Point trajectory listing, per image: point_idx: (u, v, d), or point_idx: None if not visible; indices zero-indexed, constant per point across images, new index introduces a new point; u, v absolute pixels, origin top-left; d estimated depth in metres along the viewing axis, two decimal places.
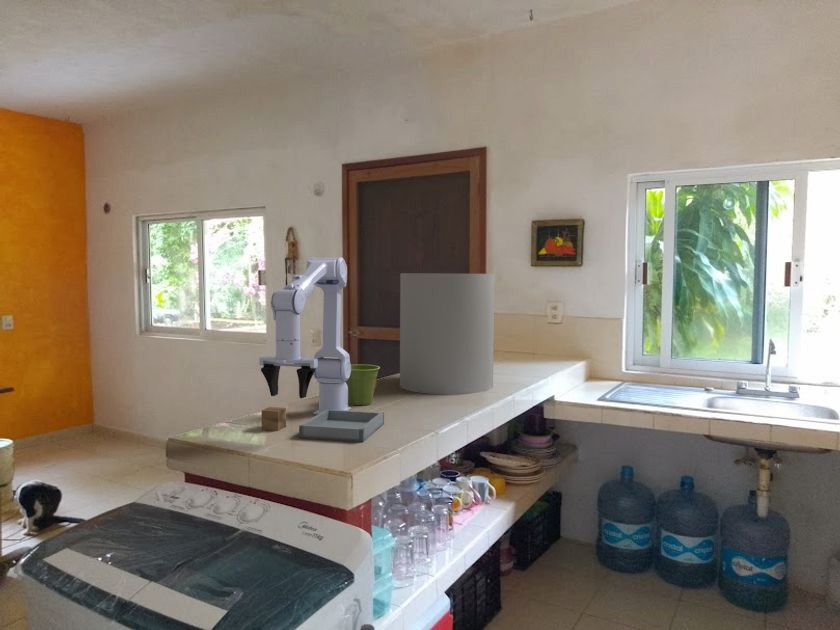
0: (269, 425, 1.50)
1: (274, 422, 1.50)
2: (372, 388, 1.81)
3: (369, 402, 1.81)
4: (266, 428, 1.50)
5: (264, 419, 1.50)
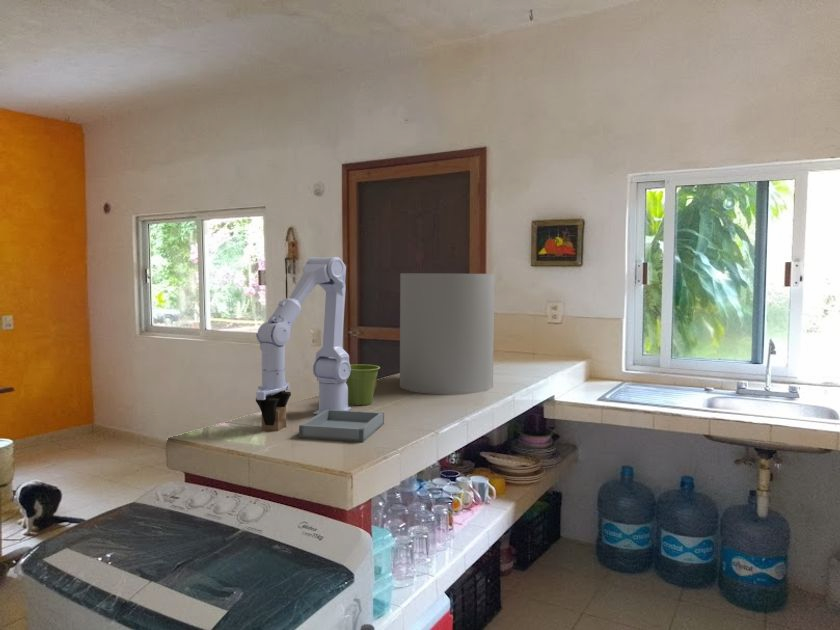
0: (269, 425, 1.50)
1: (274, 422, 1.50)
2: (372, 388, 1.81)
3: (369, 402, 1.81)
4: (266, 428, 1.50)
5: None
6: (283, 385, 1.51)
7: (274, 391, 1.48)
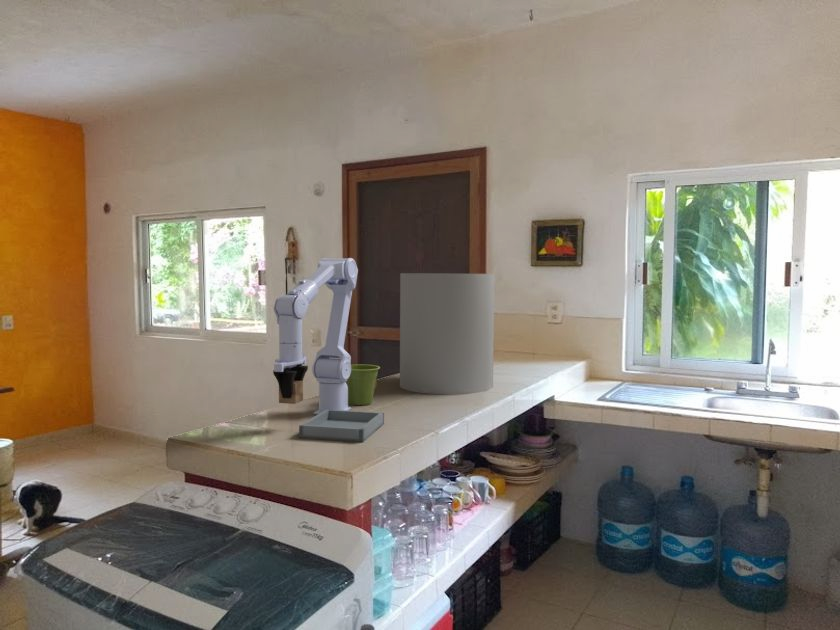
0: (286, 398, 1.49)
1: None
2: (372, 388, 1.81)
3: (369, 402, 1.81)
4: (283, 401, 1.49)
5: None
6: (300, 358, 1.50)
7: (292, 363, 1.47)
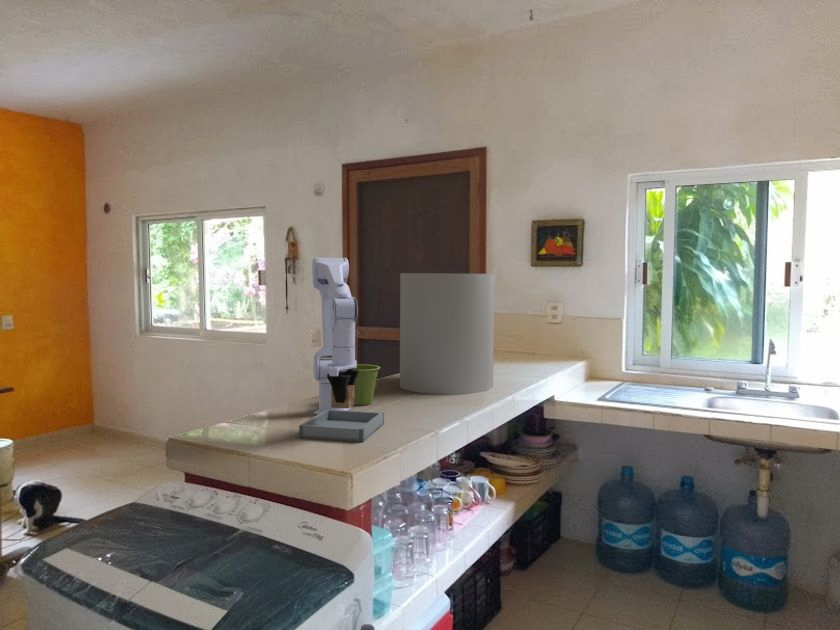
0: (339, 403, 1.48)
1: None
2: (372, 388, 1.81)
3: (369, 402, 1.81)
4: (336, 405, 1.48)
5: None
6: (354, 362, 1.48)
7: (346, 368, 1.45)
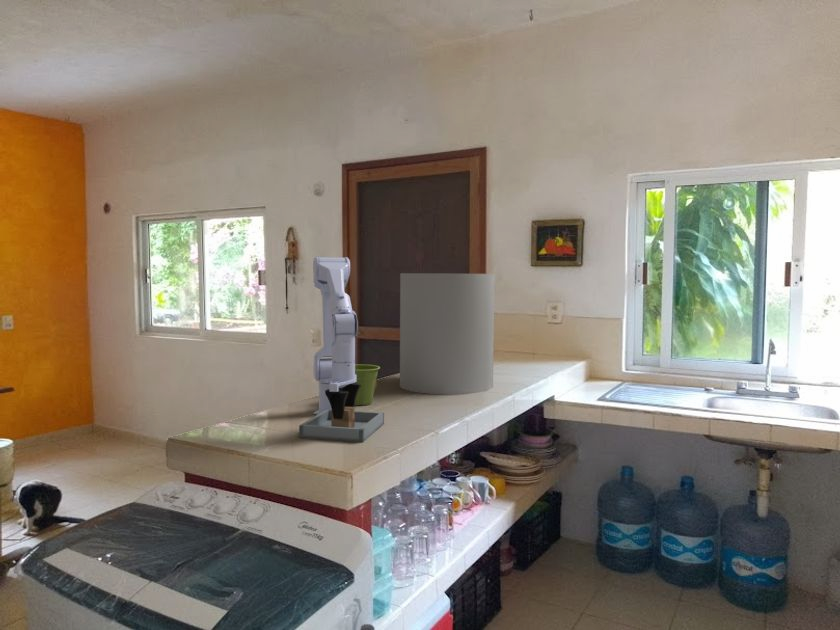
0: (339, 425, 1.48)
1: (344, 421, 1.48)
2: (372, 388, 1.81)
3: (369, 402, 1.81)
4: None
5: (334, 419, 1.48)
6: (353, 377, 1.49)
7: (346, 383, 1.46)
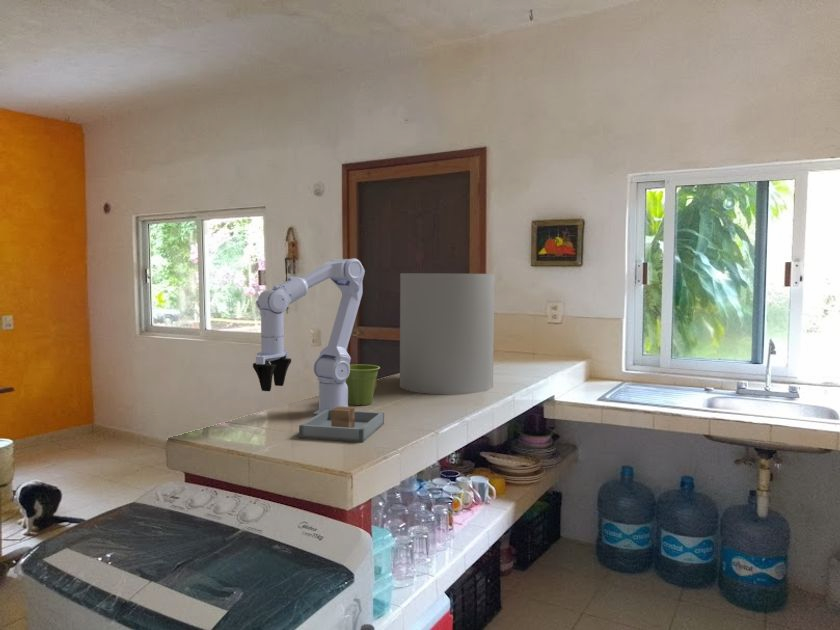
0: (339, 425, 1.48)
1: (344, 421, 1.48)
2: (372, 388, 1.81)
3: (369, 402, 1.81)
4: None
5: (334, 419, 1.48)
6: (282, 351, 1.54)
7: (273, 356, 1.51)
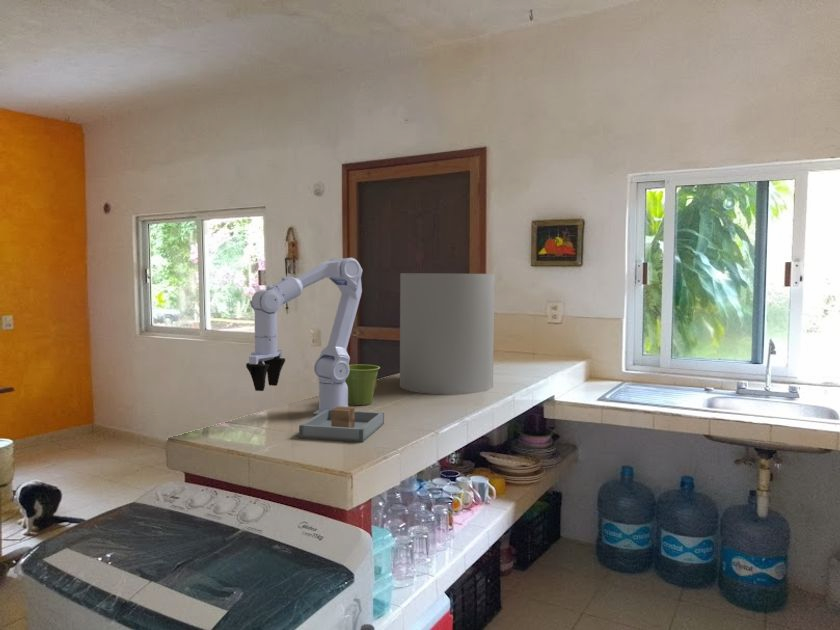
0: (339, 425, 1.48)
1: (344, 421, 1.48)
2: (372, 388, 1.81)
3: (369, 402, 1.81)
4: None
5: (334, 419, 1.48)
6: (275, 351, 1.55)
7: (266, 356, 1.52)
